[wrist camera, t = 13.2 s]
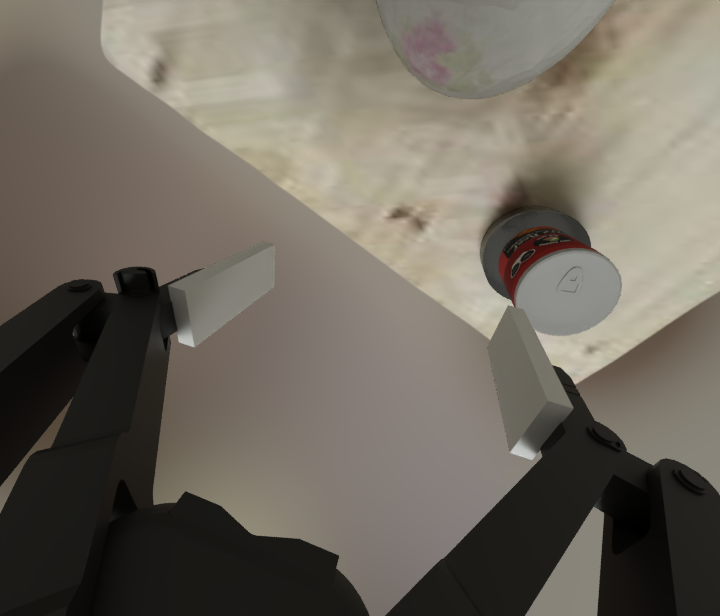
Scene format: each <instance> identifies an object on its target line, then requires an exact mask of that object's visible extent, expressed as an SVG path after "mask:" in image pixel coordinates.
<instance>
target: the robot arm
mask: <svg viewBox="0 0 720 616" xmlns="http://www.w3.org/2000/svg"><path fill="white" fill-rule="evenodd" d="M274 269H275V245H274V244H272V243H268V242H264V241H262V242H260V243H258V244H256V245H254V246H252V247H249V248H247V249H245V250H243V251H241V252H239V253H237V254H234V255H232V256H230V257H228V258H226V259H224V260H222V261H219V262H217V263H215V264H213V265H211V266H209V267H207V268H204V269H199V270H195V271H193V272H191V273H188V274H187V275H184V276H182V277H180V279H175V280H173V281H171V282H169V283H167V284H165V285H162V286H160V287H159V286H158V282H157V277H156V272H155V270H153V269H151V268H148V267H128V268H124V269H121V270H118V271H116V272H115V273H114V274H113V277H114V280H115V284H116V287H117V290H118V294H115V293H105V292H104V289H103V286H102V284H101V282H99V281H96V280H84V279H80V280H73V281H71V282H68V283H64V284H62V285H60V286H58V287H57V288H55V289H54V290H52V291H51V292H50V293H48V294H46V295H45V296H44V297H42V298H41V299H39V300H38V301H36V302H35V303H33V304H32V305H30V306H29V307H27V308H26V309H25V310H23V311H22V312H20V313H19V314H17V315H16V316H14V317H13V318H12V319H10V320H8V321H7V322H6V323H4V324H3V325H1V326H0V486H1V485H2V484H3V483H4V481H5V480H6V479H7V478H8V476H9V475H10V474H11V473H12V471H13V470H14V469H15V468H16V467H17V465H18V464H19V463H20V461H21V460H22V459H23V458H24V457H25V455H26V454H27V453H28V452H29V451H30V449H31V448H32V447H33V446H34V444H35V443H36V442H37V441H38V439H39V438H40V437H41V436H42V434H43V433H44V432H45V431H46V430H47V428H48V427H49V426H50V425H51V423H52V422H53V421H54V420H55V419H56V417H57V416H58V415H59V413H60V412H61V411H62V410H63V409H64V407H65V406H66V405H67V404H68V402H69V401H70V400H71V399H72V398H73V399H72V401H71V404H70V406H69V408H68V411H67V413H66V415H65V418H64V420H63V422H62V424H61V427H60V429H59V431H58V433H57V436H56V438H55V440H54V443H53V445H52V446H51V448H49V449H44V450H40V451H36V452H35V453H34V454H32V455H31V456H30V457H29V459H28V460H27V462H26V463H25V465H24V467H23V469H22V471H21V473H20V475H19V477H18V479H17V481H16V483H15V485H14V487H13V489H12V491H11V493H10V495H9V497H8V499H7V501H6V503H5V505H4V507H3V509H2V511H1V513H0V616H369V613H368V611H367V609H366V607H365V605H364V603H363V601H362V599H361V597H360V596H359V594H358V593H357V591H356V590H355V588H354V586H353V585H352V584H351V583H350V582H349V580H348V579H347V578H346V577H345V576H344V575H343V574H342V573H341V572H340V571H339V570H337V569H336V566H337V562H338V559H339V556H338V555H336V554H334V553H331V552H329V551H327V550H324V549H322V548H320V547H317V546H315V545H312V544H310V543H308V542H305V541H303V540H301V539H293V538H279V537H267V536H256V535H252V534H251V533H249V532H248V531H247V530H246V529H245V528H244V527H243V526H242V525H241V524H240V523H238V522H237V521H236V520H235V519H234V518H233V517H232V516H231V515H230V514H229V513H228V512H227V511H225V510H224V509H223V508H222V507H221V506H219V505H217V504H215V503H212V502H210V501H208V500H205V499H203V498H200V497H198V496H195V495H193V494H191V493H188V492H185V493H184V494H183V495H182V496H181V498H180V499H179V500H178V502H177V503H164V504H158V505H154V504H153V484H154V476H155V467H156V458H157V451H158V443H159V434H160V426H161V419H162V411H163V402H164V394H165V386H166V378H167V370H168V362H169V354H170V345H171V341H170V335H171V334H173V333H175V332H176V331H177V334H178V339H179V342H180V343H183V344H186V345H189V346H192V347H196V346H197V345H198V344H200V343H201V342H202V341H203V340H205V339H206V338H207V337H209V336H210V335H211V334H213V333H214V332H215V331H216V330H218V329H219V328H220V327H222V326H223V325H224V324H226V323H227V322H228V321H230V320H231V319H232V318H234V317H235V316H236V315H238V314H239V313H240V312H242V311H243V310H244V309H245V308H247V307H248V306H249V305H251V304H252V303H253V302H255V301H256V300H257V299H259V298H260V297H261V296H263V295H264V294H265V293H266V292H268V291H269V290H270V289H272V288H273V287H274V272H275V270H274ZM73 333H74V336H73ZM487 349H488V354H489V358H490V363H491V368H492V372H493V377H494V382H495V386H496V391H497V395H498V400H499V405H500V409H501V414H502V419H503V423H504V428H505V433H506V437H507V442H508V447H509V451H510V453H512V454H515V455H518V456H521V457H524V458H527V459H530V460H532V459H533V458H534V457H535V455H536V454H537V453H538V452H539V451H540V450H541V454H542V458H541V459H540V460H539V461H538V462H537V463H536V464H535V465H534V466H533V467H532V468H531V469H530V470H529V471H528V473H527V474H526V475H525V476H524V477H523V478H522V479H521V480H520V481H519V482H518V483H517V484H516V485H515V486H514V487H513V488H512V489H511V490H510V491H509V492H508V493H507V494H506V495H505V496H504V497H503V499H501V500H500V501H499V503H497V504H496V505H495V507H494V508H493V509H492V510H491V511H490V512H489V513H488V514H487V515H486V516H485V517H484V518H483V519H482V520H481V521H480V522H479V523H478V524H477V525H476V526H475V527H474V528H473V529H472V530H471V531H470V532H469V533H468V534H467V535H466V536H465V537H464V538H463V539H462V540H461V542H460V543H458V544H457V546H456V547H455V548H454V549H453V550H452V551H451V552H450V553H449V554H448V555H447V556H446V557H445V558H443V559H441V560H440V561H439V562H438V563H437V564H436V565H435V566H434V567H433V568H432V569H431V570H430V571H429V572H428V573H427V574H426V575H425V576H424V577H423V578H422V579H421V580H420V581H419V582H418V583H417V584H416V585H415V586H414V587H413V588H412V589H411V590H410V591H409V592H408V593H407V594H406V595H405V596H404V597H403V598H402V599H401V600H400V601H399V602H398V604H396V605H395V606H394V607H393V608H392V609H391V610H390V612H388V614H387V615H386V616H525V614H526V613H527V611H528V610H529V608H530V607H531V605H532V603H533V602H534V600H535V598H536V597H537V596H538V594H539V592H540V591H541V589H542V588H543V586H544V584H545V582H546V581H547V579H548V578H549V576H550V575H551V573H552V572H553V570H554V568H555V567H556V565H557V563H558V562H559V560H560V559H561V557H562V556H563V554H564V553H565V551H566V549H567V548H568V546H569V545H570V543H571V541H572V539H573V538H574V537H575V535H576V533H577V532H578V530H579V529H580V527H581V525H582V524H583V522H584V521H585V519H586V517H587V516H588V514H589V513H590V511H591V510H592V508H593V506H594V507H596V508H597V509H599V510H600V511H602V512H604V526H603V540H602V542H603V543H602V555H601V570H600V584H599V599H598V613H597V616H720V495H719V493H718V492H717V491H716V490H715V488H714V487H713V486H712V485H711V484H710V483H709V482H708V481H707V480H706V479H705V478H704V477H702V476H701V475H700V474H699V473H698V472H696V471H694V470H692V469H691V468H689V467H688V466H686V465H684V464H682V463H679V462H677V461H675V460H671V459H662V460H660V461H659V462H657V463H656V464H655V465H654V466H653V465H651V464H649V463H647V462H645V461H643V460H641V459H640V458H637V457H636V456H634V455H632V454H630V453H628V452H626V450H627V449H626V447H625V445H624V443H623V441H622V440H621V439H620V438H619V437H618V436H617V435H616V434H615V433H614V432H613V431H611V430H610V429H609V428H608V427H606V426H604V425H602V424H600V423H599V422H596V421H595V420H594V418H593V417H592V415H591V413H590V411H589V409H588V408H587V406H586V404H585V402H584V401H583V399H582V397H580V393H579V392H578V390H577V389H576V386H575V385H574V383H573V381H572V379H571V377H570V376H569V375H568V374H566V373H565V372H564V371H563V370H562V369H561V368H560V367H556V366H553V365H552V364H551V363H550V361H549V359H548V357H547V355H546V353H545V351H544V349H543V347H542V345H541V343H540V341H539V339H538V337H537V335H536V333H535V331H534V329H533V327H532V325H531V323H530V321H529V319H528V317H527V315H526V313H525V311H524V309H520V308H516V307H512V306H509V305H508V307H507V309H506V311H505V313H504V315H503V317H502V319H501V321H500V323H499V325H498V327H497V329H496V331H495V333H494V335H493V337H492V339H491V341H490V343H489V345H488V346H487ZM73 396H74V397H73Z"/></svg>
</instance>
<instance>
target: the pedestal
mask: <svg viewBox="0 0 720 616" xmlns="http://www.w3.org/2000/svg"><path fill="white" fill-rule="evenodd" d="M539 226H548V227H553V228H556V229H558V230H561V231H562V232H564V233H566V234H568V235H570V236H571V237H573V238H575V239H577V240H578V241H580V242H582V243H584V244H586V245H587V246H589V247H591V242H590V238H589V236H588V234H587V232H586V230H585V229H584V227H583V226H582V225H581V224H580V223H579V222H578V221H576V220H575V219H573V218H571V217H569V216H567V215H565V214H563V213H560V212H558V211H556V210H553V209H550V208H547V207H542V206H526V207H521V208H518V209H515V210H512V211H510V212H508V213H506V214H505V215H503V216H502V217H500V218H499V219H498V220H496V221H495V222H494V223H493V224H492V225H491V227H490V228H489V229H488V231H487V232H486V234H485V236H484V238H483V240H482V243H481V248H480V259H481V264H482V267H483V269H484V272H485V275H486V278H487V280H488V282H489V284H490V285H491V286H492V288H493V289H494V290H495V291H496V292H497V293H499V294H500V295H502V296H503V297H505V298H507V299H510V300H511V298H510V296H509V294H508V292H507V290H506V287H505V285H504V283H503V281H502V279H501V276H500V273H499V258H500V255H501V253H502V251H503V249H504V247H505V246H506V244H507V243H508V242H509V241H510V240H511V239H512V238H513V237H514V236H516V235H517V234H519V233H521V232H522V231H524V230H527V229H530V228H533V227H539Z"/></svg>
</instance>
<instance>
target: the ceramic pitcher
mask: <svg viewBox="0 0 720 616" xmlns="http://www.w3.org/2000/svg"><path fill="white" fill-rule="evenodd" d="M614 1H615V0H376V2H377V6H378V9H379V13H380V17H381V20H382V24H383V26H384V28H385V31H386V33H387V35H388V37H389V39H390V42H391V44H392V46H393V48H394V50H395V52H396V54H397V55H398V57H399V58H400V59H401V61H402V62H403V63H404V65H405V67H406V68H407V70H408V71H409V72H410V73H411V74H412V75H413V76H414V77H416V78H417V79H418V80H419V81H420V82H421V83H422V84H423V85H425V86H426V87H428V88H429V89H432V90H434V91H437V92H439V93H441V94H444V95H446V96H449V97H455V98H461V99H484V98H490V97H493V96H496V95H499V94H502V93H505V92H508V91H510V90H513V89H516V88H518V87H520V86H522V85H524V84H526V83H528V82H530V81H532V80H533V79H535V78H536V77H538V76H539V75H541V74H542V73H544V72H545V71H546V70H548V69H549V68H551V67H552V66H553V65H555V64H556V63H557V62H559V61H560V60H561V59H563V58H564V57H565V56H567V55H568V54H569V53H570V51H571V50H572V49H573V48H575V47H576V46H577V45H578V44H579V43H580V42H581V41H582V40H583V38H584V37H585V36H586V35H587V34H588V33H589V32H590V31H591V30H592V29H593V28H594V27H595V26H596V24H597V23H598V22H599V21H600V20H601V19H602V17H603V16H604V15H605V14H606V13H607V11H608V10H609V9H610V8H611V6H612V4H613V3H614Z"/></svg>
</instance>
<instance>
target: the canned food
mask: <svg viewBox="0 0 720 616" xmlns="http://www.w3.org/2000/svg"><path fill="white" fill-rule="evenodd" d="M499 273H500V276H501V279H502V281H503V283H504V285H505V287H506V290H507V292H508V294H509V296H510V298H511V301H512V303H513V305H514V307H516V308H520V309H524V311H525V313H526V315H527V317H528V319H529V321H530V323H531V325H532V327H533V329H534V330H535V331H538V332H540V333H543V334H547V335H553V336H567V335H572V334H577V333H580V332H583V331H586V330H588V329H590V328H592V327H594V326H596V325H597V324H599V323H600V322H601V321H603V320H604V319H605V318H606V317H607V316H608V315H609V314H610V313H611V312H612V310H613V309H614V307H615V306H616V304H617V303H618V300H619V297H620V295H621V288H622V283H621V276H620V274H619V272H618V269H617V268H616V267H615V265H614V264H613V263H612V262H611V261H610V260H609V259H608V258H606V257H605V256H604V255H602V254H601V253H599V252H598V251H596V250H594V249H593V248H591V247H589V246H587V245H586V244H584V243H582V242H580V241H578V240H577V239H575V238H573V237H571V236H570V235H568V234H566V233H564V232H562V231H561V230H558V229H556V228H553V227H548V226H539V227H533V228H530V229H527V230H524V231H522V232H521V233H519V234H517V235H516V236H514V237H513V238H512V239H511V240H510V241H509V242H508V243H507V244H506V246H505V247H504V249H503V251H502V253H501V255H500V258H499Z"/></svg>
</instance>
